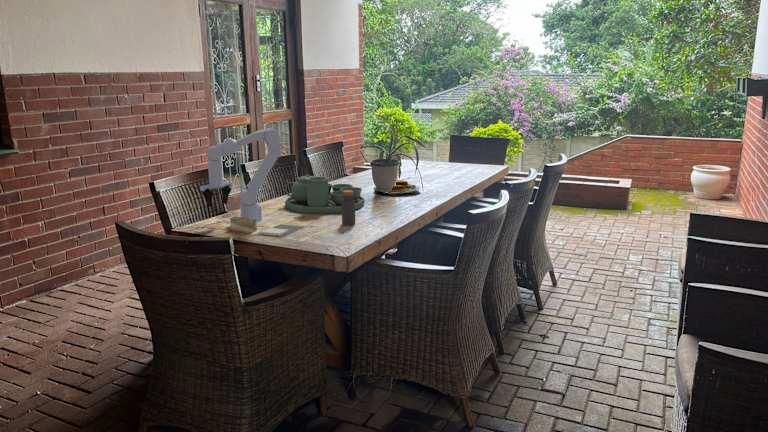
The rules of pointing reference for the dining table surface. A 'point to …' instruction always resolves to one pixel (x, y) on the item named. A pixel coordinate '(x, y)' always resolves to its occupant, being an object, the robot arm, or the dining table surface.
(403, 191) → the food on plate
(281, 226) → the mat
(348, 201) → the bottle
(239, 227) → the beige rectangular block
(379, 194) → the dining table surface
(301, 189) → the tea set
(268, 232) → the tile
